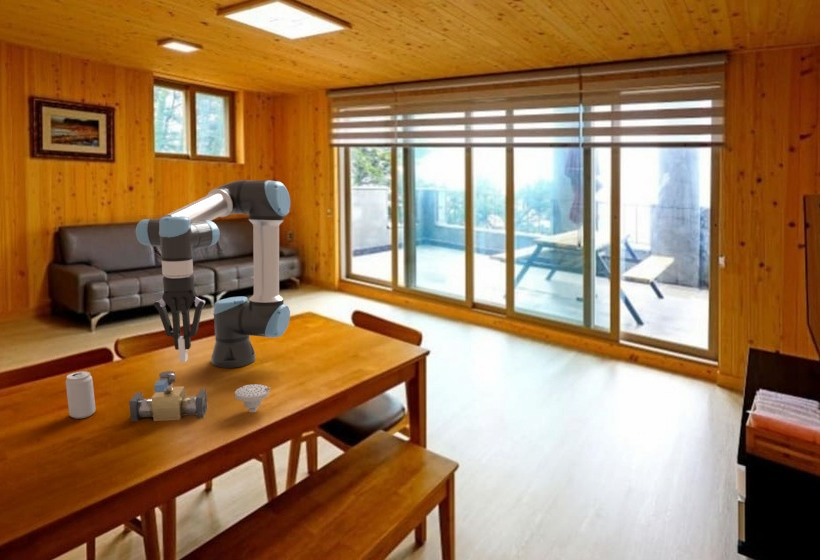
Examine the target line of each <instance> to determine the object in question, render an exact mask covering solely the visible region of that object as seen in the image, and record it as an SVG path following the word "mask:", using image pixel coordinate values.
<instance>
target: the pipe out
mask: <svg viewBox="0 0 820 560" xmlns="http://www.w3.org/2000/svg"><path fill="white" fill-rule="evenodd" d="M143 397H144V396H143V392H140V391H139V392H135V394H134V395H133V396H132V397H131V399H130V400H129V402H128V403H129V414H130V422H131V423H132V422H133V423H134V421H135V422H138V421H139V420H140V418H152V417H153V408H152V398H143Z"/></svg>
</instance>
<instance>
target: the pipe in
mask: <svg viewBox="0 0 820 560" xmlns="http://www.w3.org/2000/svg"><path fill="white" fill-rule="evenodd" d="M207 398H208V396H207V389H206V388H204V389H203V388H202V389H200V390H199V391H198V393H197V395H196V396H185V397H182V399H181V405H180V409H181V414H182V415H183V416H187V415H188V416H189V415H190V416H191V415H196V419H200V418H202V419H203V418H204V417H205V416H206V412H207V410H208V399H207Z"/></svg>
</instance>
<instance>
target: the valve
mask: <svg viewBox="0 0 820 560" xmlns="http://www.w3.org/2000/svg"><path fill="white" fill-rule="evenodd" d="M182 397H186V389H185V386H174V383H172V384H169V385H168V388H167V389H166V391H165V392H158V393H155V392H154V393H153V394H152V396H151V399H152V408H153V419H152V420H153V422H162V421H163V422H165V421H180V420H181V419H182V417H183V416H184V415H182V414H181V409H180V405H181V399H182Z"/></svg>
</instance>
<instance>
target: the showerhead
mask: <svg viewBox="0 0 820 560" xmlns="http://www.w3.org/2000/svg"><path fill="white" fill-rule="evenodd" d="M270 390H271V387H270V386H267V385H263V384H259V383H258V384H256V383H254V384H251V383H250V384H245V385H243V386H241V387H239V388H237V389H236V390H235V391H234V398H235V399H236V400H237V401H240V402H243V406H244V407H245V408H247V409H248V412H249V413H256V412H257V411H258V410H257V408H258V407H259V406H261V405H262V400H263V399H266V398H268V396H269V395H270Z"/></svg>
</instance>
